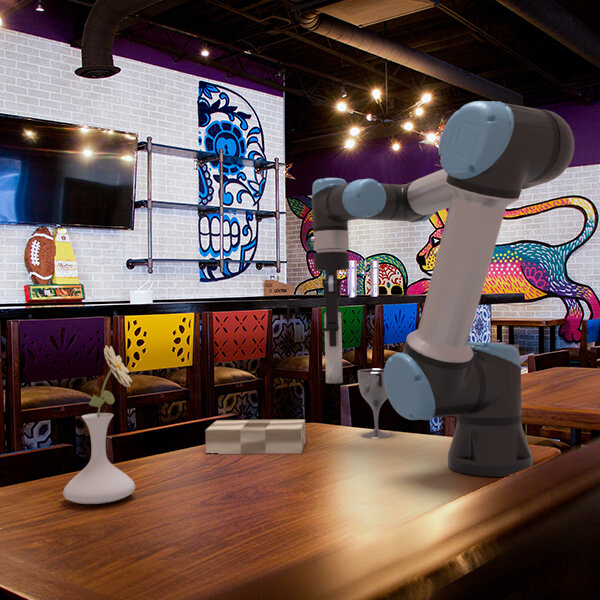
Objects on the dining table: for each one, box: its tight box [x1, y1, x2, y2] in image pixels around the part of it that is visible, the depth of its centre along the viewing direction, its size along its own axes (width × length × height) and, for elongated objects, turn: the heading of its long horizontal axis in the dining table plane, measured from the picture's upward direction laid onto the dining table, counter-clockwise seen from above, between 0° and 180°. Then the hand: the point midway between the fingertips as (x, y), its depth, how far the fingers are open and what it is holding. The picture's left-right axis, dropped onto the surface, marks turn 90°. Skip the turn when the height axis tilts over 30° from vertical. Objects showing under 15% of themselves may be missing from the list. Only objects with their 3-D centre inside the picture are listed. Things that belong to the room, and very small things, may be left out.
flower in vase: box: [62, 345, 136, 505], centre depth 117 cm, size 13×11×25 cm
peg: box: [323, 311, 344, 384], centre depth 152 cm, size 4×4×15 cm
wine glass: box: [357, 368, 393, 439], centre depth 165 cm, size 8×8×15 cm
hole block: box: [204, 418, 306, 455], centre depth 154 cm, size 12×20×5 cm, turn 85°
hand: (333, 360), depth 152 cm, fingers closed on peg, 3 cm apart
